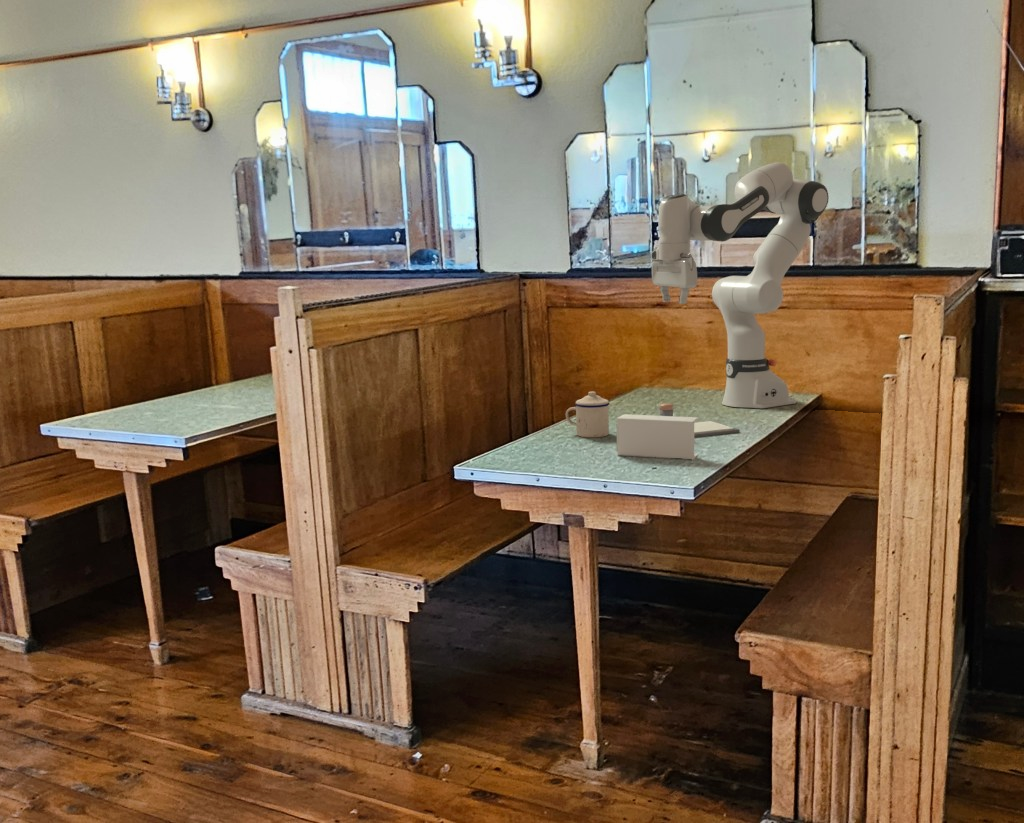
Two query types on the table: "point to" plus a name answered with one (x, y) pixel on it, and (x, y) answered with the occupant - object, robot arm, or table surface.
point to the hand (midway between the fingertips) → (674, 302)
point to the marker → (666, 409)
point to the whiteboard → (712, 429)
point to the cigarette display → (656, 436)
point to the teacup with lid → (591, 416)
